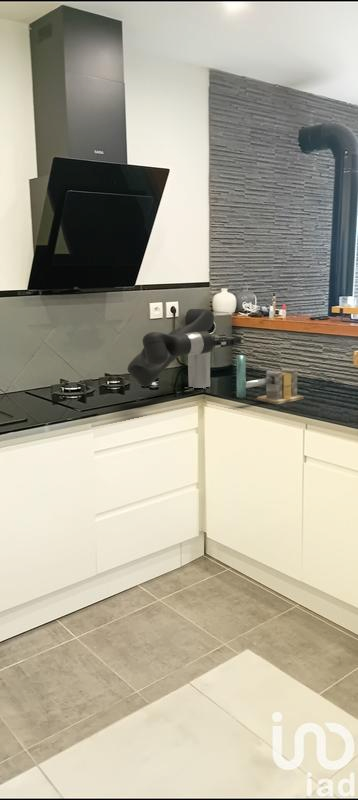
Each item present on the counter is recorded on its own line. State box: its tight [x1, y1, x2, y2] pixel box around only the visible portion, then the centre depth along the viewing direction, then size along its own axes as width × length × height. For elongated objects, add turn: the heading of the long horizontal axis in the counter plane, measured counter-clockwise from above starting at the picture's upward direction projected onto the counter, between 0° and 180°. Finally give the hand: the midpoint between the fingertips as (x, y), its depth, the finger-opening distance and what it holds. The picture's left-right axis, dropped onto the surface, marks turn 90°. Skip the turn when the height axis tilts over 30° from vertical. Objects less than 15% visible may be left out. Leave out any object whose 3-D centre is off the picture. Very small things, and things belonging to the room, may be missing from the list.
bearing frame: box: [256, 367, 304, 405], centre depth 237 cm, size 14×11×11 cm
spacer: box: [274, 370, 292, 399], centre depth 237 cm, size 4×7×9 cm, turn 35°
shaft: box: [236, 354, 275, 398], centre depth 228 cm, size 18×3×15 cm, turn 125°
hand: (232, 338), depth 219 cm, fingers open, 8 cm apart
